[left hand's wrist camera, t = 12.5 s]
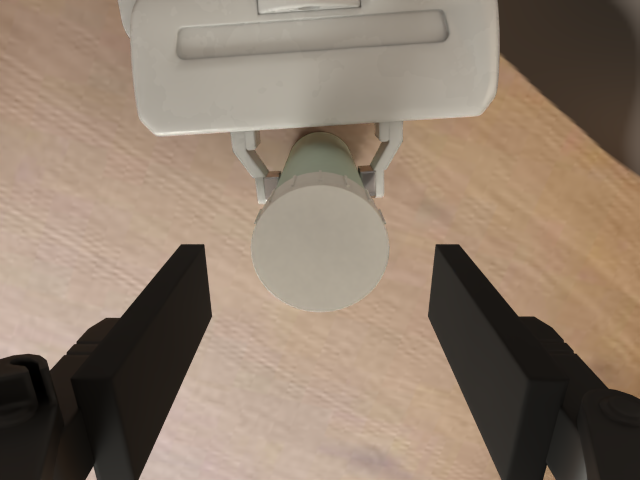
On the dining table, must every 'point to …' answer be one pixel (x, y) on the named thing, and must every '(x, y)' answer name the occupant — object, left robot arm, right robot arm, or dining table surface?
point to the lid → (320, 242)
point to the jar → (320, 158)
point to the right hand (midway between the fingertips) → (321, 198)
